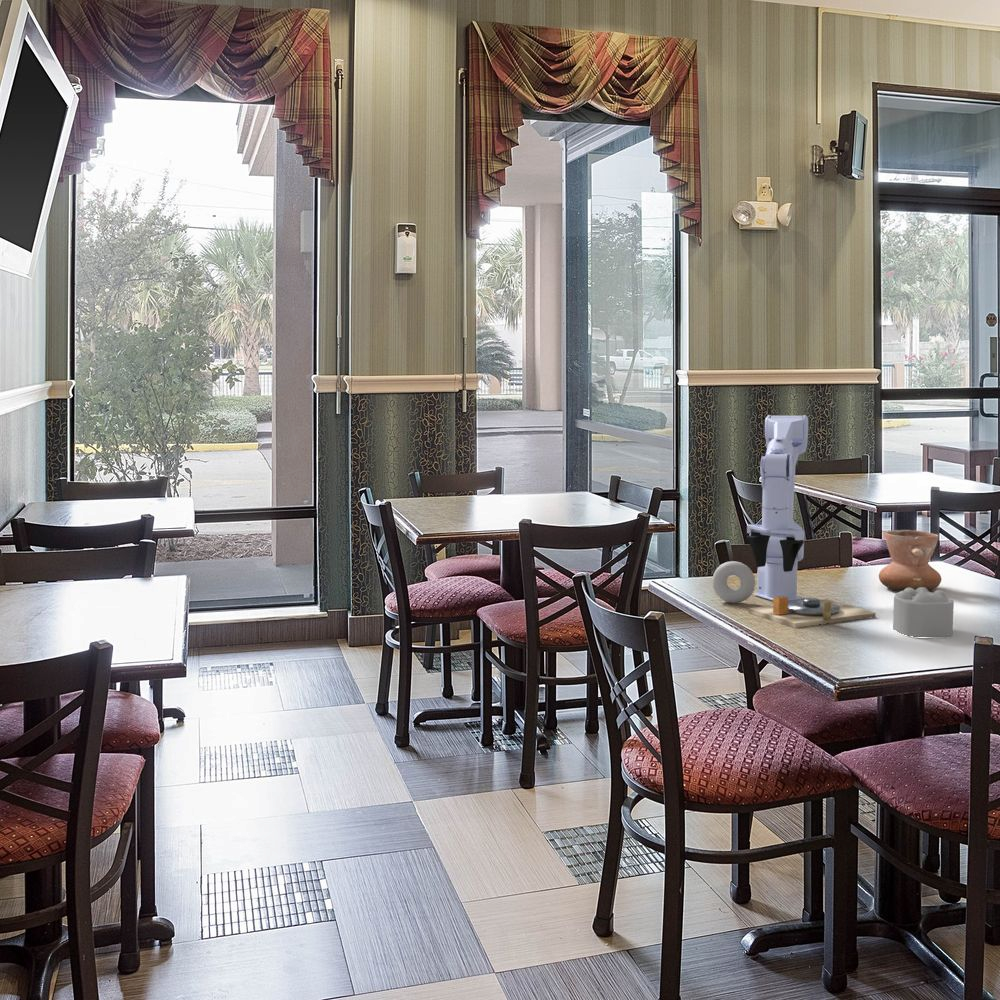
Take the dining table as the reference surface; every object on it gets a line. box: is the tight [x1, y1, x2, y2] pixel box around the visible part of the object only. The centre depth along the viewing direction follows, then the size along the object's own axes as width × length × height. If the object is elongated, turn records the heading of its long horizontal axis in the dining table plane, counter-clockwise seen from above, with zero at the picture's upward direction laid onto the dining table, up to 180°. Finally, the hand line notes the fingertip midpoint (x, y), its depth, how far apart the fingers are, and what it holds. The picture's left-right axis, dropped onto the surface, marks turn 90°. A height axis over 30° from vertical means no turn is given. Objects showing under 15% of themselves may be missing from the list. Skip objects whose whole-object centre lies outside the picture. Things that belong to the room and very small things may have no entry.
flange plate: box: [772, 596, 840, 615], centre depth 238 cm, size 12×16×4 cm
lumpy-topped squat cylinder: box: [892, 587, 955, 638], centre depth 224 cm, size 10×13×9 cm
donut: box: [711, 560, 756, 604], centre depth 252 cm, size 10×4×10 cm, turn 69°
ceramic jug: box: [878, 529, 942, 592], centre depth 265 cm, size 18×14×14 cm
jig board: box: [748, 598, 877, 629], centre depth 238 cm, size 17×22×5 cm
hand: (774, 568), depth 238 cm, fingers open, 7 cm apart
